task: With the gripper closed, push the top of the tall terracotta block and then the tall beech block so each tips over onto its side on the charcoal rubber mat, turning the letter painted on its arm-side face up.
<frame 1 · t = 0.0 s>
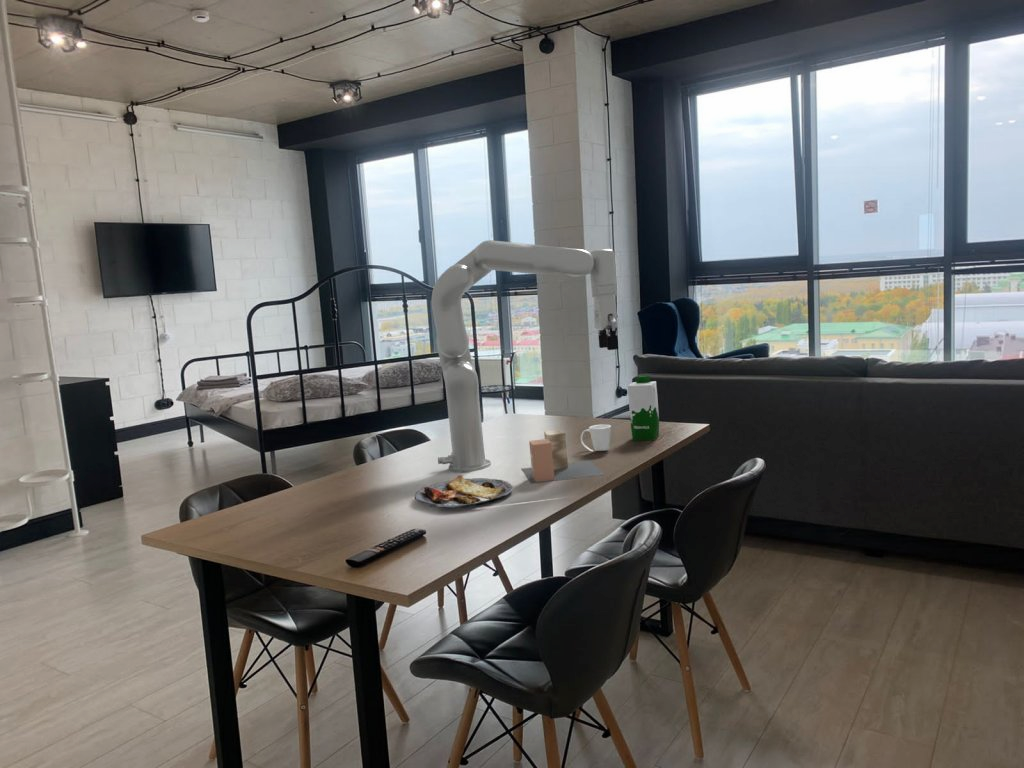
hand: (608, 348, 231), 31 cm above the table, tool pointing down, fingers open, 9 cm apart
terracotta block: (543, 478, 207), resting on rubber mat
cup: (597, 453, 234), on the table
rubber mat: (561, 472, 212), on the table
beech block: (557, 466, 218), resting on rubber mat
food plate: (464, 499, 196), on the table
milk carton: (645, 438, 248), on the table
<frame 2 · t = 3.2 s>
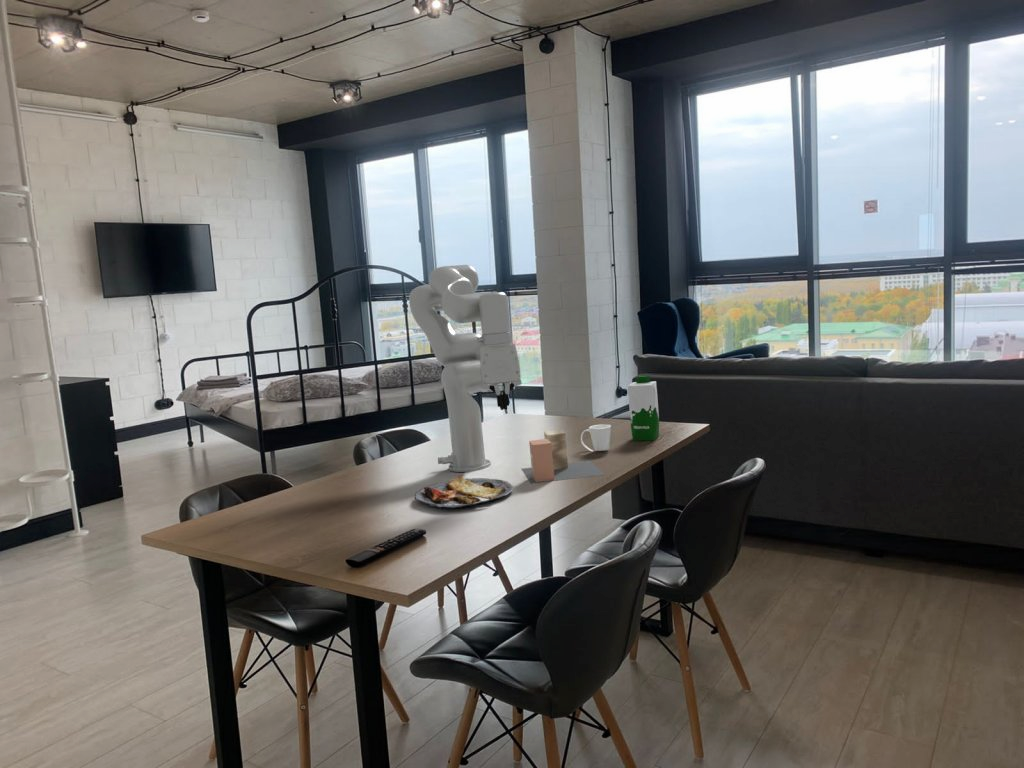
hand: (503, 408, 203), 20 cm above the table, tool pointing down, fingers closed
nothing on the table moved.
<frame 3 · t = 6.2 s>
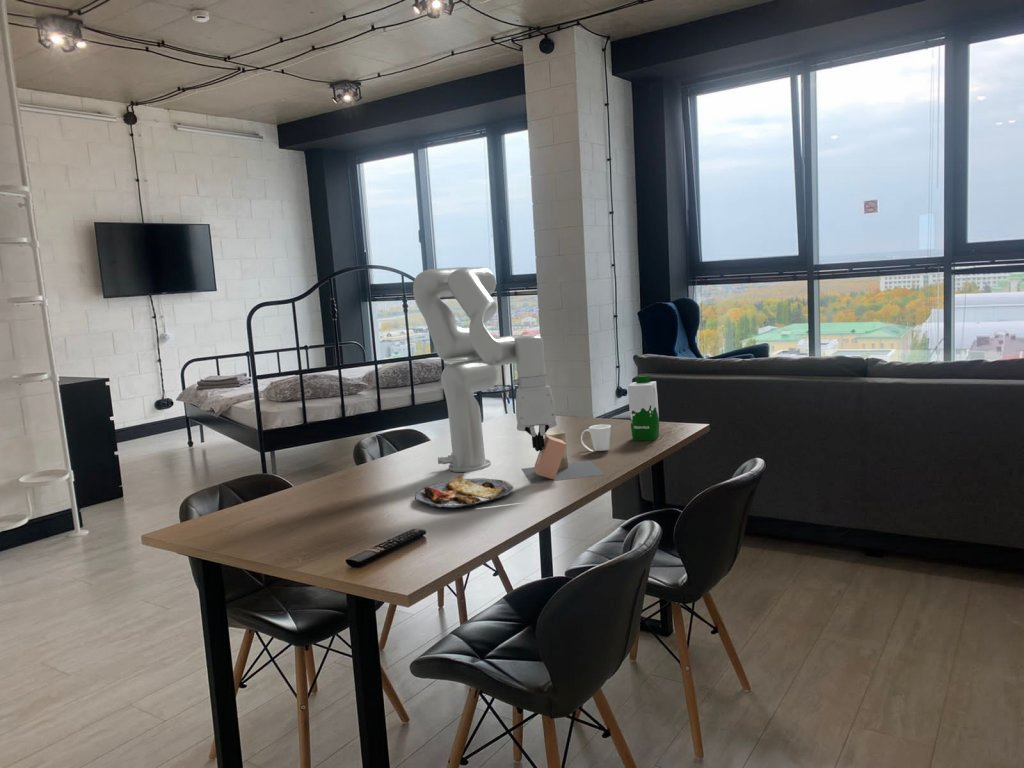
hand: (538, 450, 205), 8 cm above the table, tool pointing down, fingers closed
terracotta block: (543, 474, 207), point 1 cm above the table, tilted 24°, touching gripper, rubber mat
everything else where it was.
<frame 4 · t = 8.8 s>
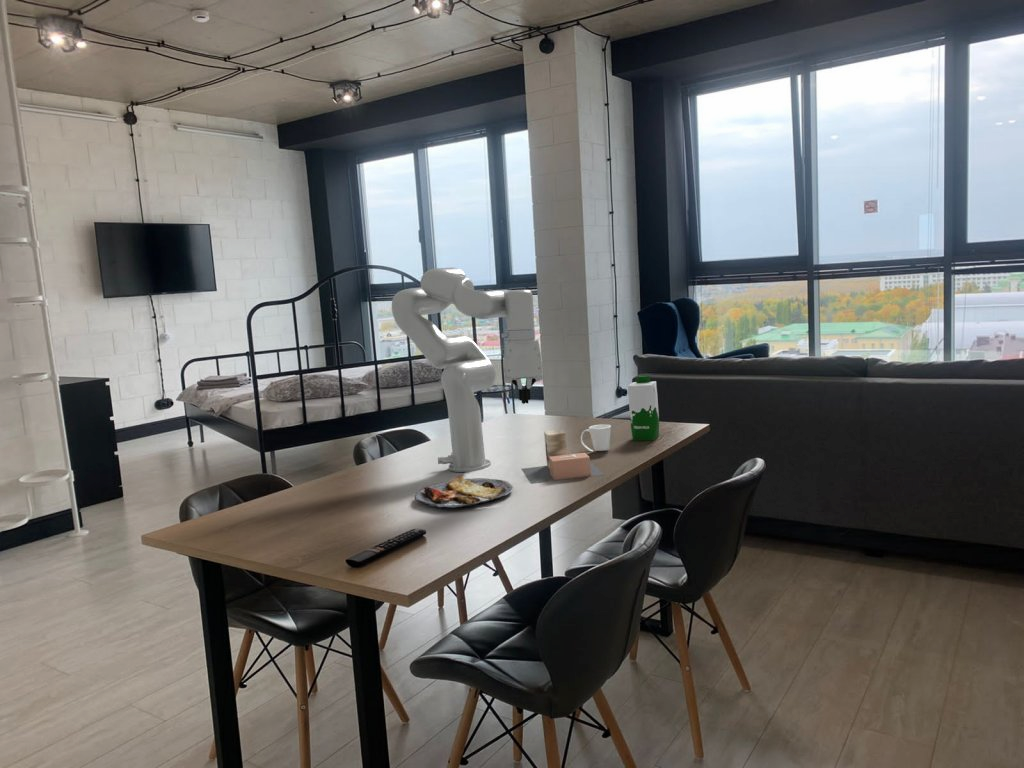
hand: (524, 402, 210), 20 cm above the table, tool pointing down, fingers closed
terracotta block: (551, 468, 207), point 3 cm above the table, tilted 90°, touching rubber mat
everything else where it was.
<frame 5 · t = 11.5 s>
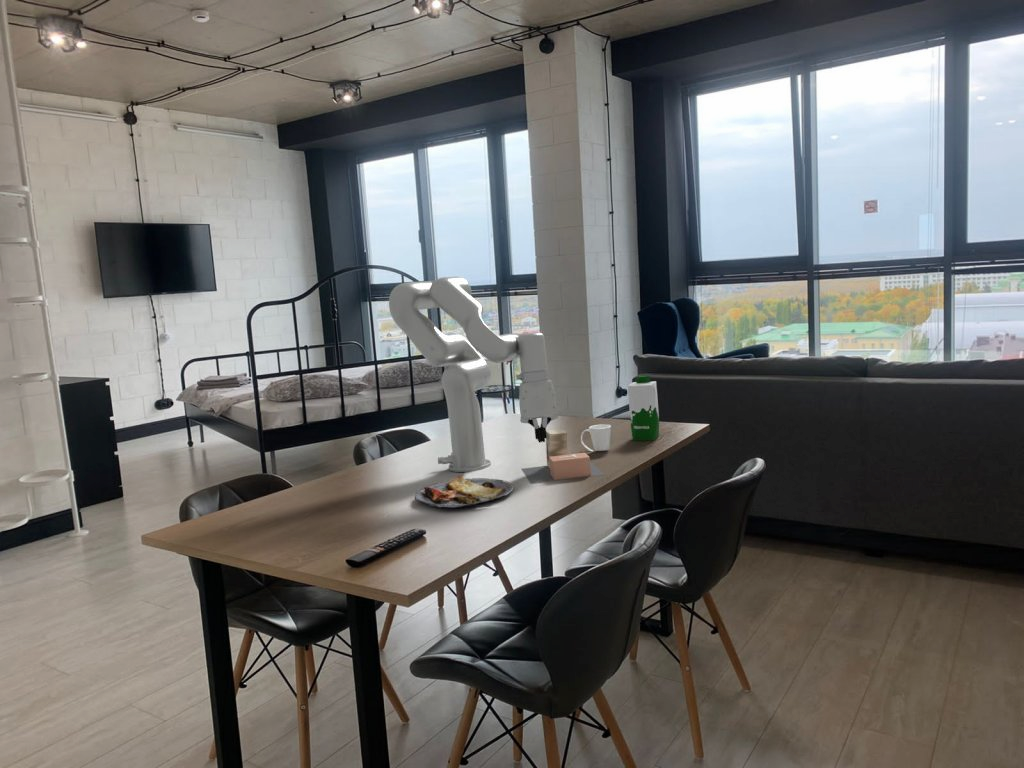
hand: (541, 441, 217), 8 cm above the table, tool pointing down, fingers closed
beech block: (557, 466, 218), point 1 cm above the table, touching gripper, rubber mat
everything else where it was.
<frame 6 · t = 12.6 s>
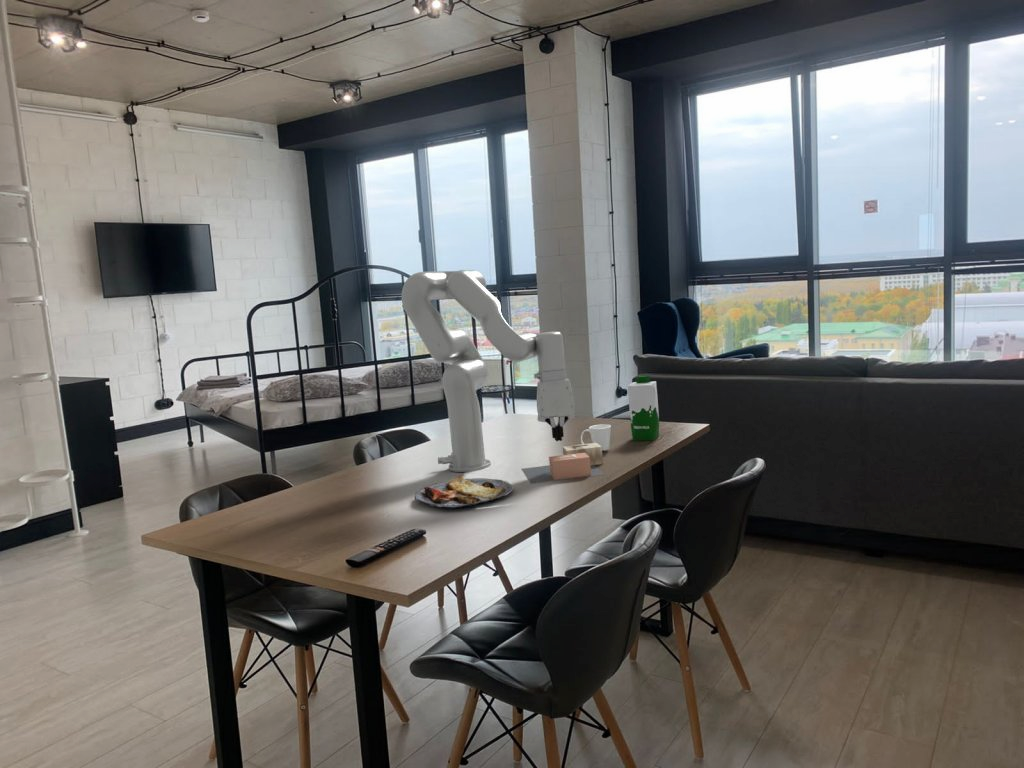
hand: (558, 440, 217), 8 cm above the table, tool pointing down, fingers closed
beech block: (565, 457, 218), point 3 cm above the table, tilted 90°, touching rubber mat
everything else where it was.
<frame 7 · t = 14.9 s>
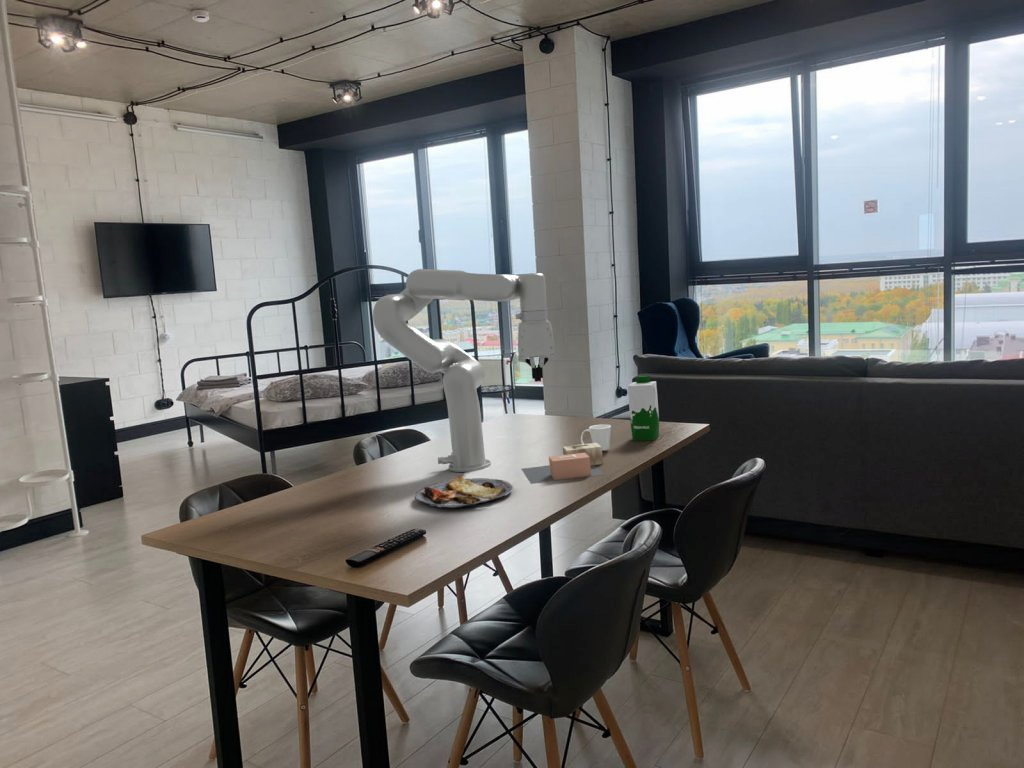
hand: (537, 380, 221), 25 cm above the table, tool pointing down, fingers closed
nothing on the table moved.
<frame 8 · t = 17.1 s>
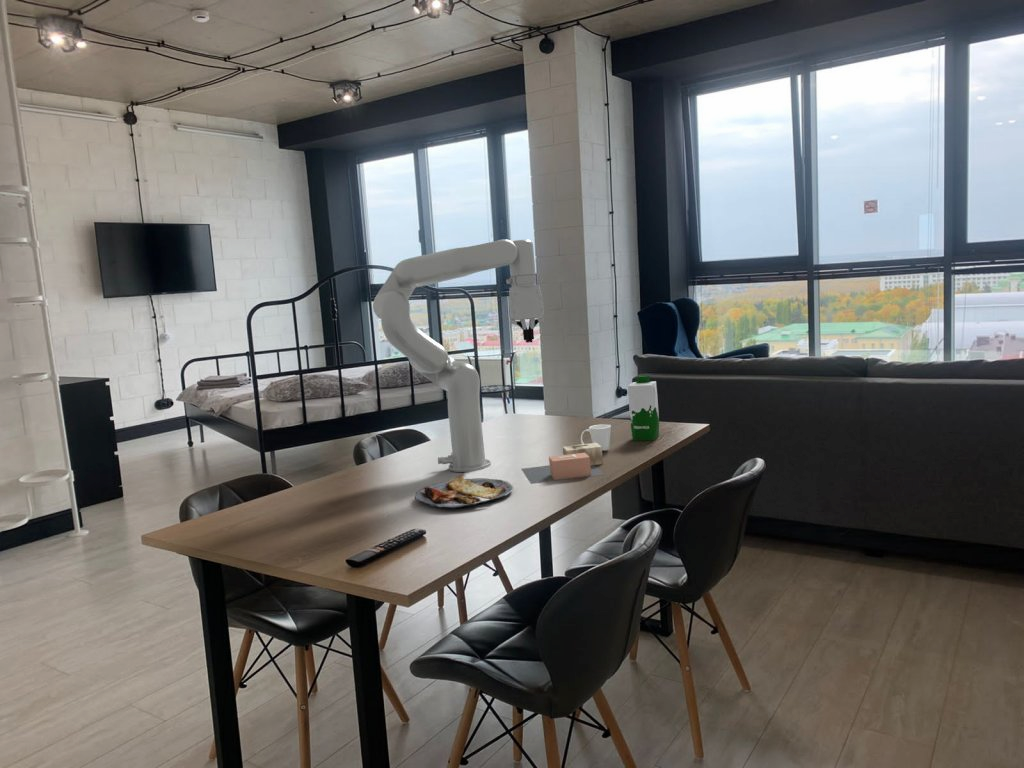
hand: (529, 342, 233), 35 cm above the table, tool pointing down, fingers closed
nothing on the table moved.
at the end: terracotta block tilted 90°; beech block tilted 90°; beech block inside the target area (5.0 cm from its centre), point 2.9 cm above the table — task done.
